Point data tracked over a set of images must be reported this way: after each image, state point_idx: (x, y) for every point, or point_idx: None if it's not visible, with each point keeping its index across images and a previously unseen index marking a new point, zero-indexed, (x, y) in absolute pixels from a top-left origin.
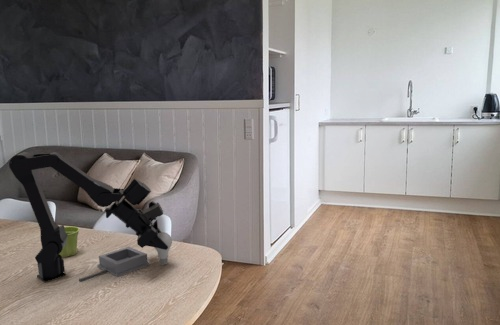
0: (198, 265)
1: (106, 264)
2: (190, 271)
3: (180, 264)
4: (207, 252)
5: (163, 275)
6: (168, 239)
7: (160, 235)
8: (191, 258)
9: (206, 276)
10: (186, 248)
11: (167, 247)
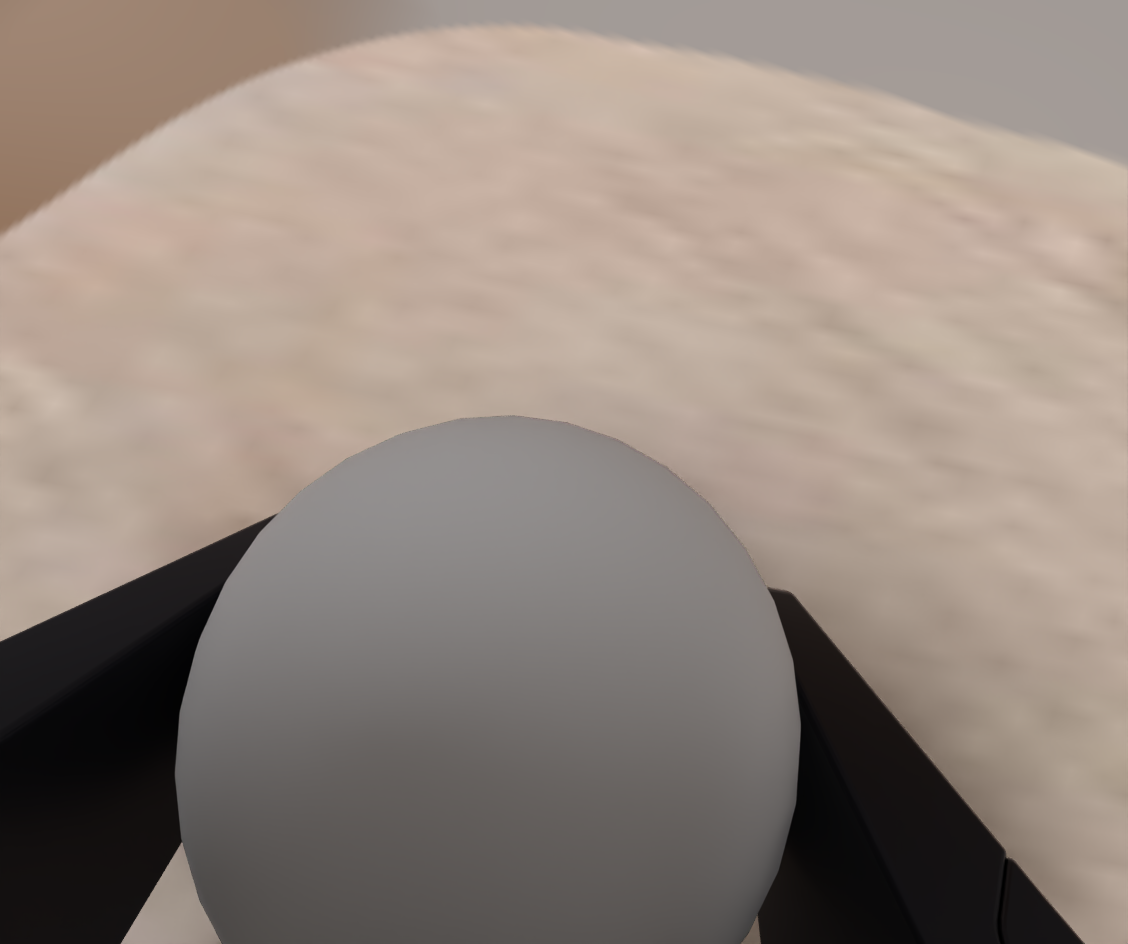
0: (740, 254)
1: None
2: (884, 373)
3: (623, 435)
4: (406, 88)
5: (894, 709)
6: (730, 539)
7: (652, 887)
8: (497, 279)
9: (1086, 246)
10: (155, 265)
11: (798, 608)
